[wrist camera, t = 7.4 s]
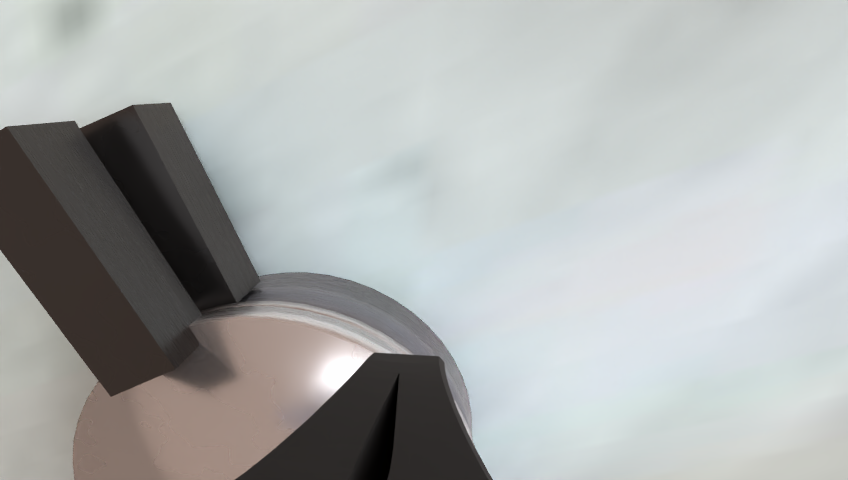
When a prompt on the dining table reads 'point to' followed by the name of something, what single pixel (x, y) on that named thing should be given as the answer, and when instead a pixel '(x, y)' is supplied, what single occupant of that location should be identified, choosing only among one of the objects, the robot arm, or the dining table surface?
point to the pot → (235, 239)
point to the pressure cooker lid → (156, 328)
